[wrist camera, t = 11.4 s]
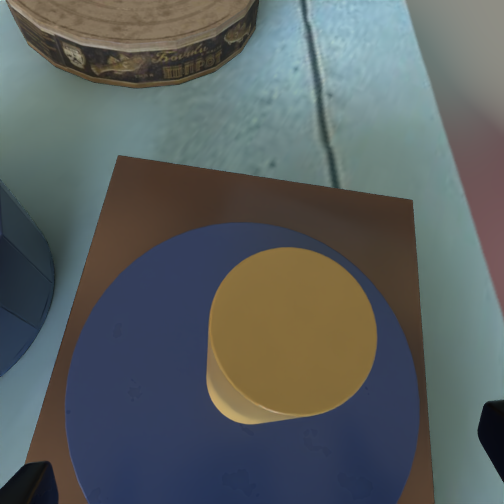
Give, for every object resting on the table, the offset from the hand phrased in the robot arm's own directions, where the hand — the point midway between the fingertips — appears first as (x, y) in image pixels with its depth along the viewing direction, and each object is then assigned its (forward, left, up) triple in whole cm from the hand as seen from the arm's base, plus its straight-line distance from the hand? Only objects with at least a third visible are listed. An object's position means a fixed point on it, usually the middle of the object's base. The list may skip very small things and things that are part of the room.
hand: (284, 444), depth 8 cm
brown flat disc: (+26, +10, -10) cm, 29 cm away
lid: (+2, 0, -5) cm, 5 cm away
